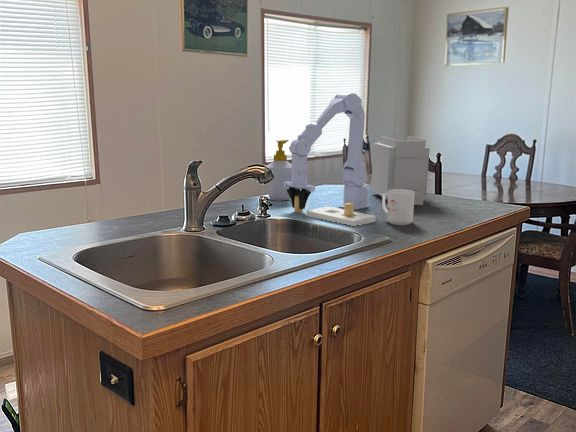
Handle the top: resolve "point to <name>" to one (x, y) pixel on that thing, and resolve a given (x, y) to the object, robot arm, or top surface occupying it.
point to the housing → (340, 216)
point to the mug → (399, 206)
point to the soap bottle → (280, 174)
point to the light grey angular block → (400, 166)
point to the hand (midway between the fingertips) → (298, 208)
